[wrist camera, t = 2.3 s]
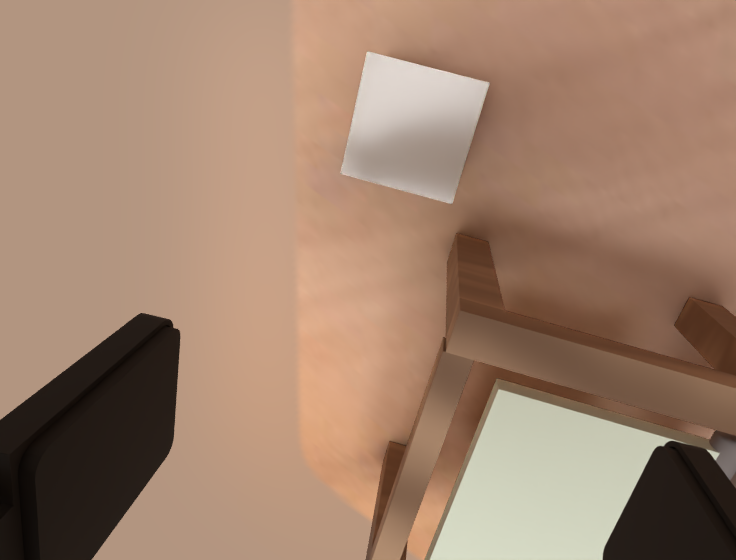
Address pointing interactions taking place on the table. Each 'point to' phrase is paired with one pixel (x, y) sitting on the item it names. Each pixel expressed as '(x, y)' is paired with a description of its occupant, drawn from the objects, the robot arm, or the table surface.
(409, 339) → the table surface
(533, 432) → the trapdoor
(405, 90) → the stone
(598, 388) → the stand
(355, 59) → the table surface
